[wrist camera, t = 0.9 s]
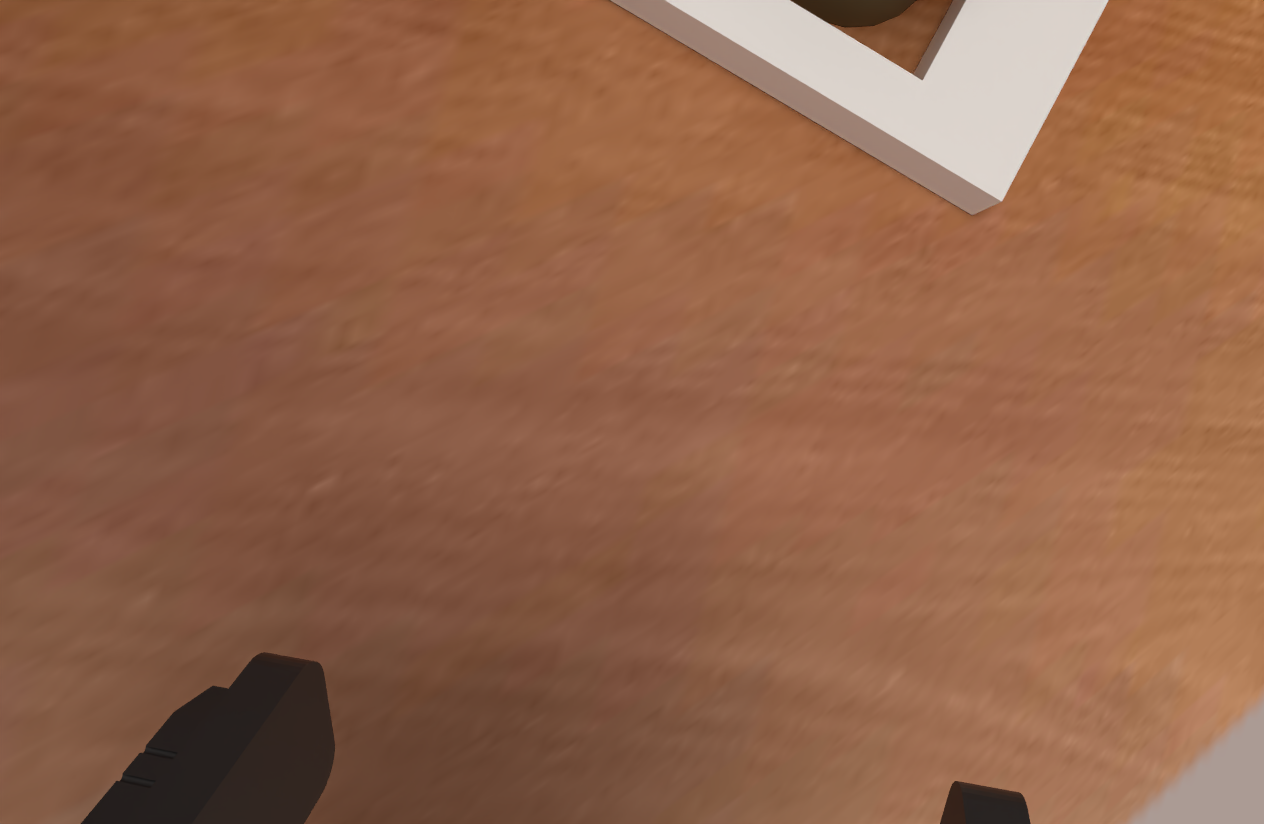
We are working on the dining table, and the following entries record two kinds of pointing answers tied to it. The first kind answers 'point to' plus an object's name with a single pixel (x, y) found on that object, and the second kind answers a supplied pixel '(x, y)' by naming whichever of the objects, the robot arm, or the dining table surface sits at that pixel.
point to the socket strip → (904, 80)
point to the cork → (855, 10)
